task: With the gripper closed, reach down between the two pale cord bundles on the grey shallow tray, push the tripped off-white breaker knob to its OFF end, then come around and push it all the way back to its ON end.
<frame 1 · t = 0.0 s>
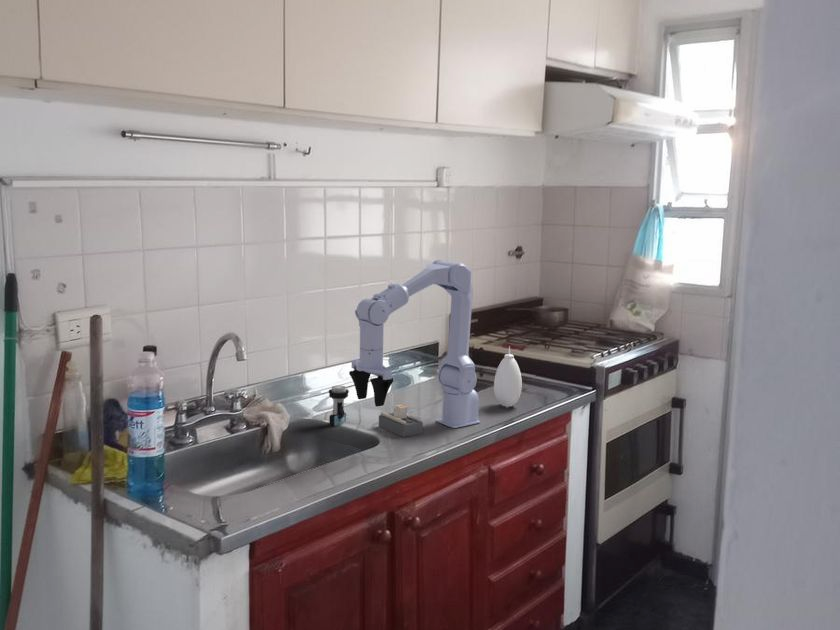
hand: (370, 402, 201), 10 cm above the counter, tool pointing down, fingers open, 7 cm apart
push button: (339, 423, 217), on the counter
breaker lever: (400, 411, 212), point 5 cm above the counter, slide at 0.0 cm
grey shallow tray: (400, 429, 212), on the counter
air blower bulb: (506, 407, 237), on the counter
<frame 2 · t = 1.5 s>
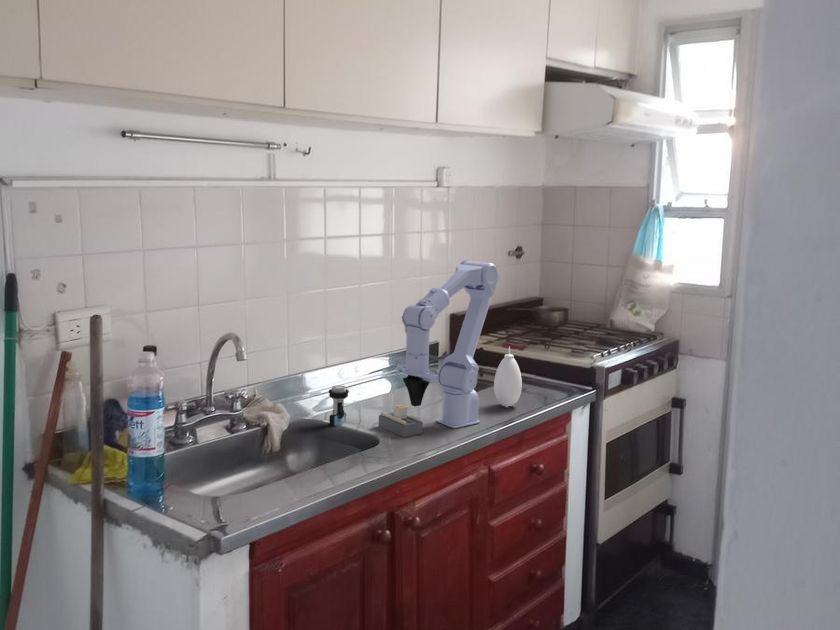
hand: (416, 405, 206), 8 cm above the counter, tool pointing down, fingers closed
nothing on the counter moved.
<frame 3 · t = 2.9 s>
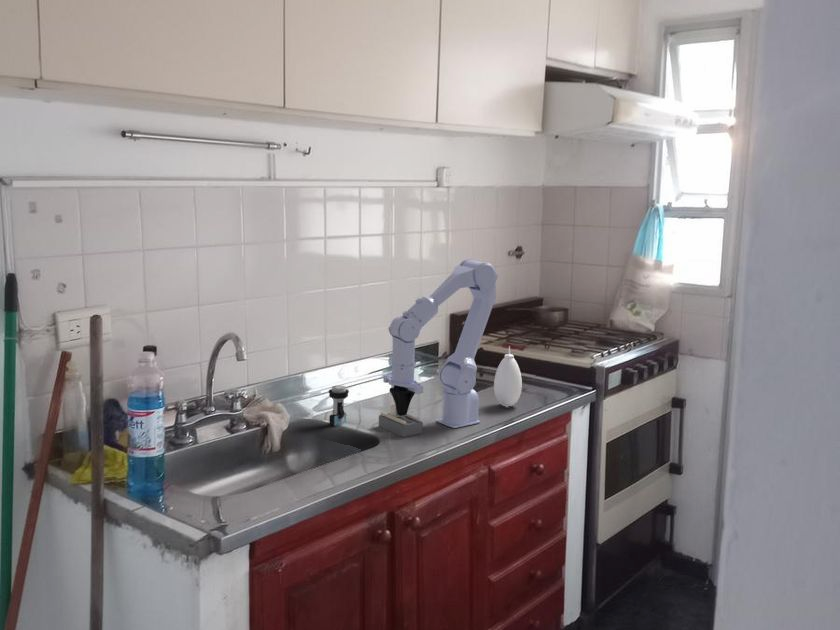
hand: (402, 414, 211), 4 cm above the counter, tool pointing down, fingers closed
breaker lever: (396, 410, 213), point 5 cm above the counter, slide at -1.7 cm, touching gripper
everything else where it was.
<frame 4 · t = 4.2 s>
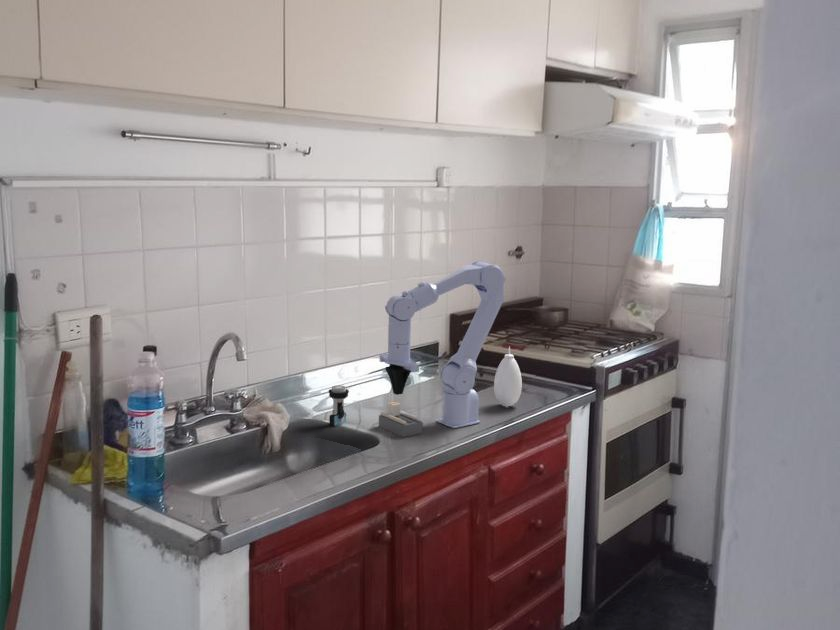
hand: (398, 393, 212), 9 cm above the counter, tool pointing down, fingers closed
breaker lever: (393, 408, 214), point 5 cm above the counter, slide at -3.1 cm
everything else where it was.
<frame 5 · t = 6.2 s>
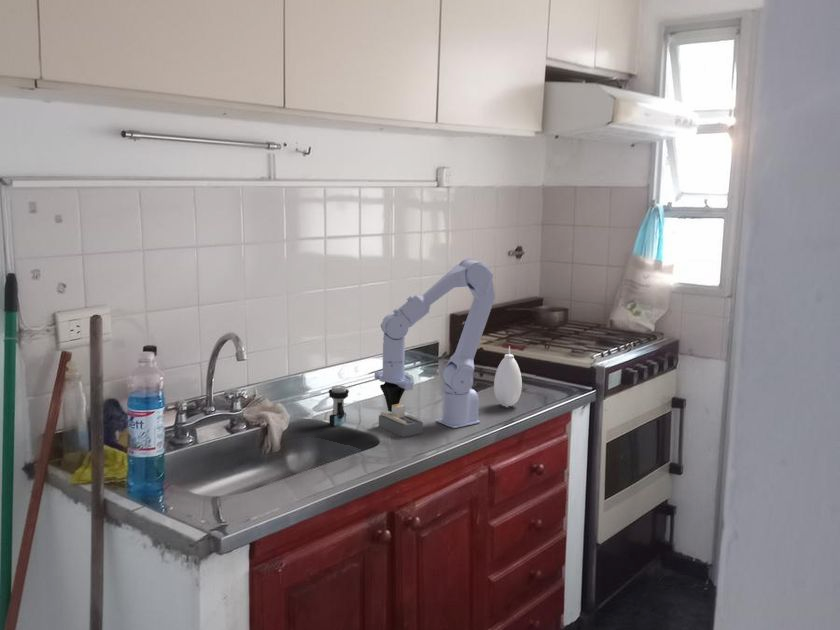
hand: (392, 410, 214), 4 cm above the counter, tool pointing down, fingers closed
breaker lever: (398, 410, 212), point 5 cm above the counter, slide at -1.1 cm, touching gripper
everything else where it was.
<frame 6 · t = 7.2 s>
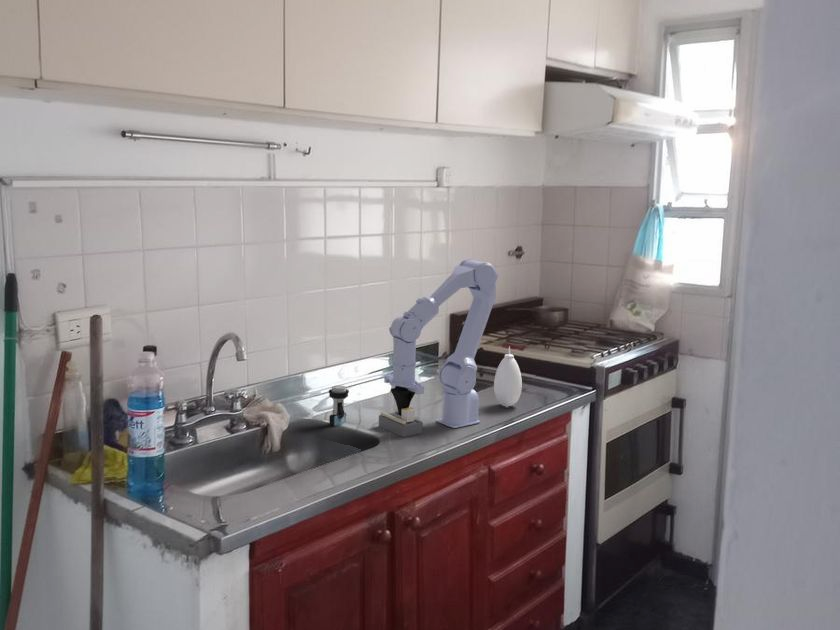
hand: (403, 415, 211), 4 cm above the counter, tool pointing down, fingers closed
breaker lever: (408, 414, 209), point 5 cm above the counter, slide at 3.2 cm, touching gripper
everything else where it was.
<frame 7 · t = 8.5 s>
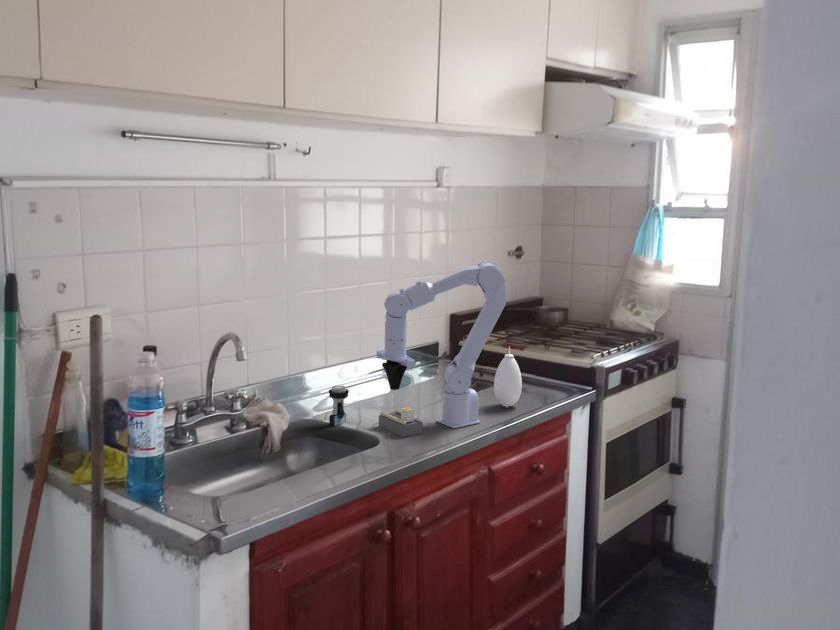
hand: (394, 389, 216), 9 cm above the counter, tool pointing down, fingers closed
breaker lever: (407, 414, 209), point 5 cm above the counter, slide at 3.1 cm
everything else where it was.
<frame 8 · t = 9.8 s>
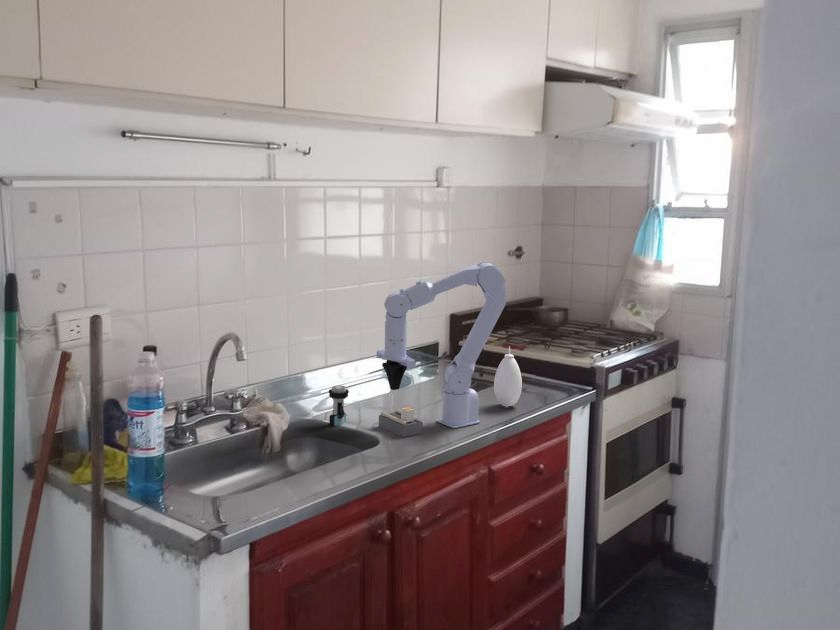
hand: (394, 389, 216), 9 cm above the counter, tool pointing down, fingers closed
nothing on the counter moved.
at the end: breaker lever slide at 3.1 cm; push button moved 0.2 cm from its start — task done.
